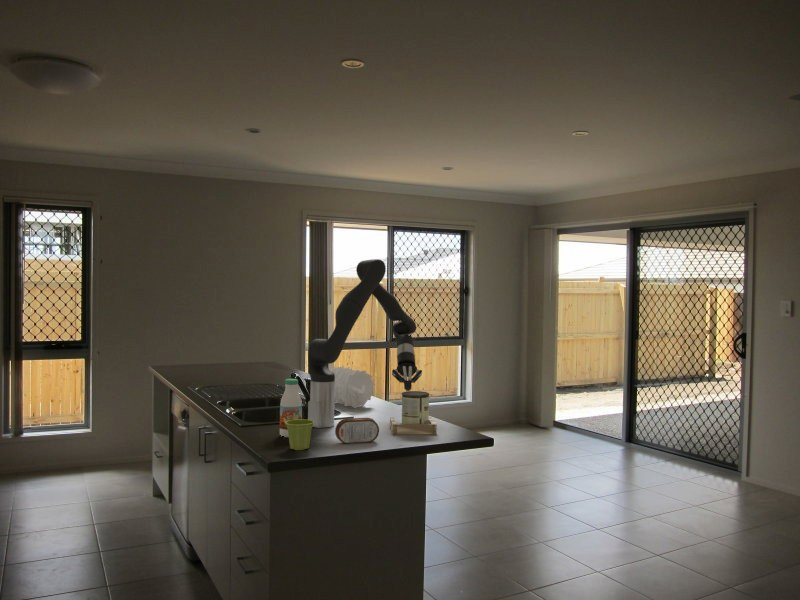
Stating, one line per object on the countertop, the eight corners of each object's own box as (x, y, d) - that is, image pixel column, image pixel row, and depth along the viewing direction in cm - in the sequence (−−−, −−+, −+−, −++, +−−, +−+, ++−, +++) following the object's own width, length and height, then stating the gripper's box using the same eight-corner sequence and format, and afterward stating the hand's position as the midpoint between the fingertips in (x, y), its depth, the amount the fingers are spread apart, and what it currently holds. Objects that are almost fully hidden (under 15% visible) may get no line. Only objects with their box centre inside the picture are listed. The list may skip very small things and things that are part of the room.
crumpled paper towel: (339, 409, 310) (370, 414, 290) (310, 396, 300) (339, 400, 281) (352, 373, 315) (383, 376, 296) (324, 359, 306) (354, 361, 286)
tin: (377, 440, 225) (377, 416, 225) (379, 442, 222) (380, 418, 222) (334, 443, 220) (335, 418, 220) (336, 445, 217) (337, 420, 217)
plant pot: (284, 452, 206) (285, 424, 206) (284, 445, 215) (285, 419, 215) (314, 451, 207) (314, 424, 207) (313, 444, 217) (313, 418, 217)
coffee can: (403, 427, 249) (404, 390, 249) (430, 428, 247) (430, 391, 247) (398, 432, 239) (399, 394, 239) (426, 434, 237) (427, 395, 237)
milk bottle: (277, 434, 233) (278, 378, 233) (298, 432, 236) (299, 377, 236) (282, 438, 226) (283, 381, 226) (304, 437, 229) (304, 380, 229)
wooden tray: (389, 426, 249) (389, 417, 249) (431, 426, 251) (431, 417, 251) (392, 434, 236) (392, 424, 236) (436, 434, 237) (436, 424, 237)
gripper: (390, 350, 270) (392, 383, 257) (422, 351, 271) (425, 384, 258) (389, 362, 275) (391, 395, 263) (420, 362, 276) (423, 395, 264)
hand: (408, 389), depth 261 cm, fingers closed
